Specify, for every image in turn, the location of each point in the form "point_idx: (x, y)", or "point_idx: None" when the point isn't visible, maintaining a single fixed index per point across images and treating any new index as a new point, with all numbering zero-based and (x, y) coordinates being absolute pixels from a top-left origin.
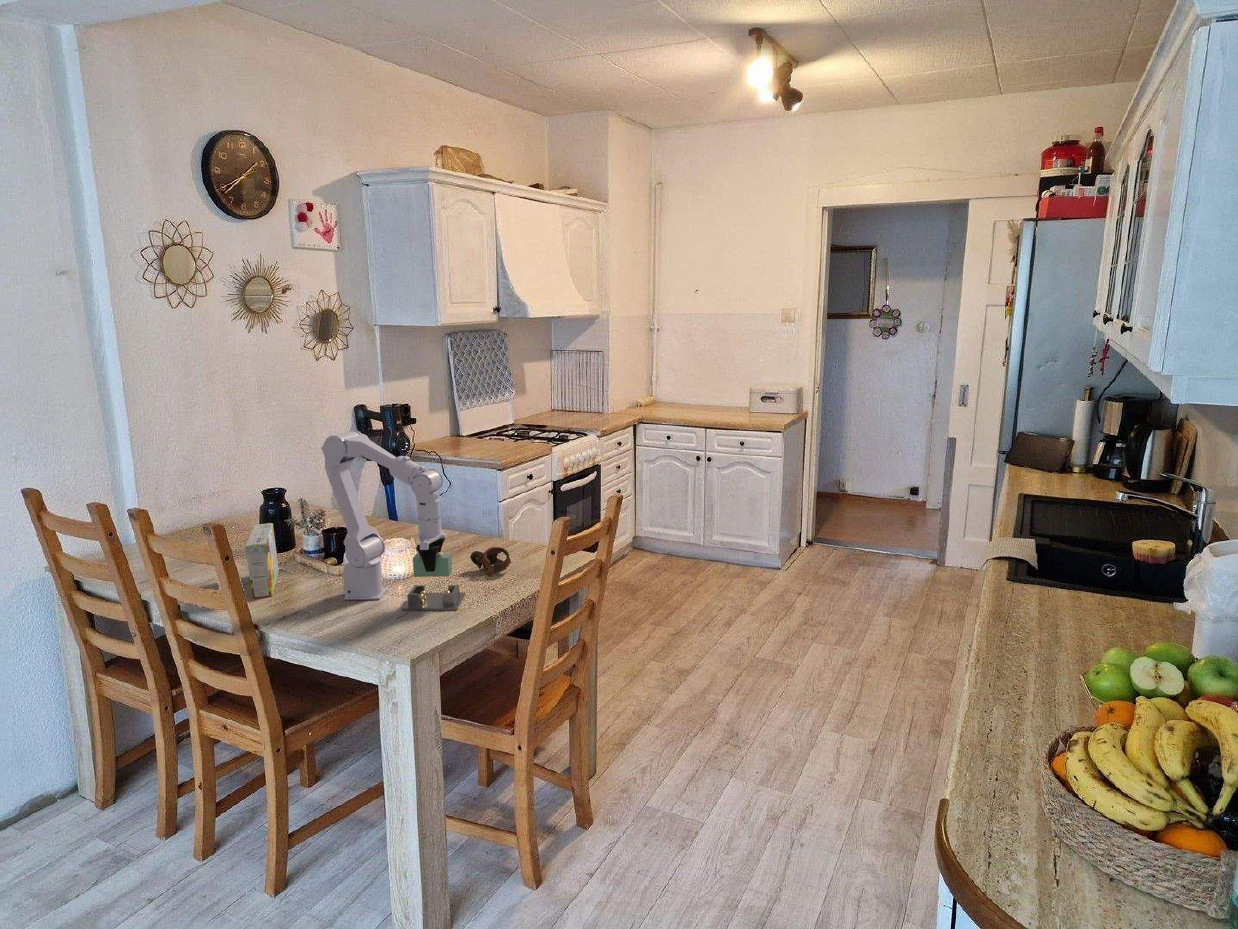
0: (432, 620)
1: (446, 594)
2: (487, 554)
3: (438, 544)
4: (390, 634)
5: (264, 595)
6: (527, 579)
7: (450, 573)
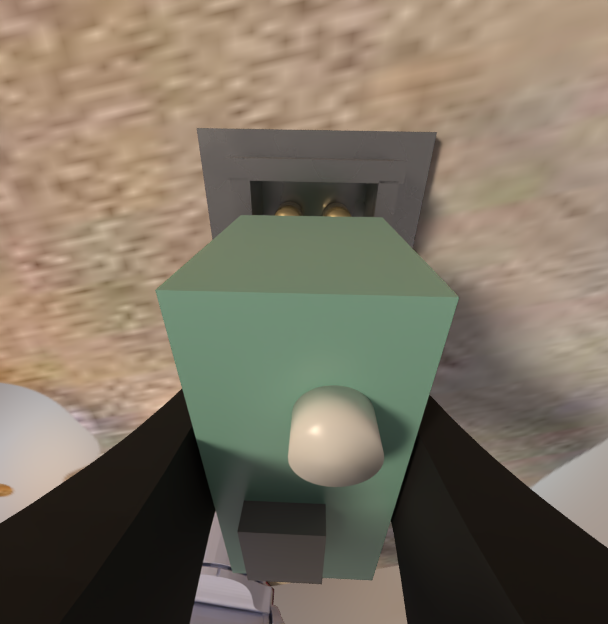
0: (527, 237)
1: (393, 211)
2: None
3: (113, 616)
4: (603, 357)
5: (266, 585)
6: None
7: (315, 217)
